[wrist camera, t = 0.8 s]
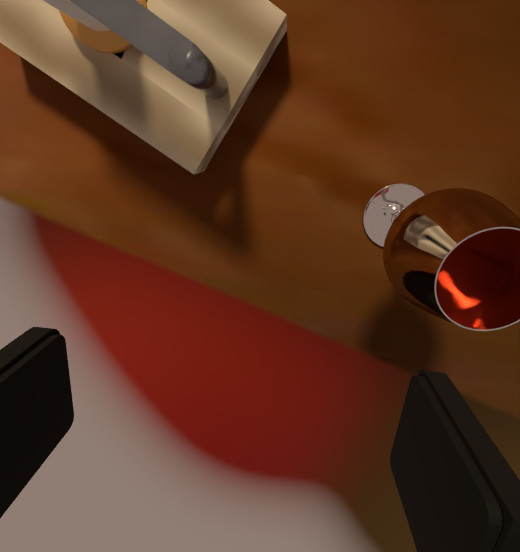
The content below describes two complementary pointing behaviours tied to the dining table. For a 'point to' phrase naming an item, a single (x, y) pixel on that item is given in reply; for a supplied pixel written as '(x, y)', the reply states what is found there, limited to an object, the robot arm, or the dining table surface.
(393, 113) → the dining table surface
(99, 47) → the plug
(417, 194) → the wineglass
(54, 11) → the socket block
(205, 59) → the grey bar
